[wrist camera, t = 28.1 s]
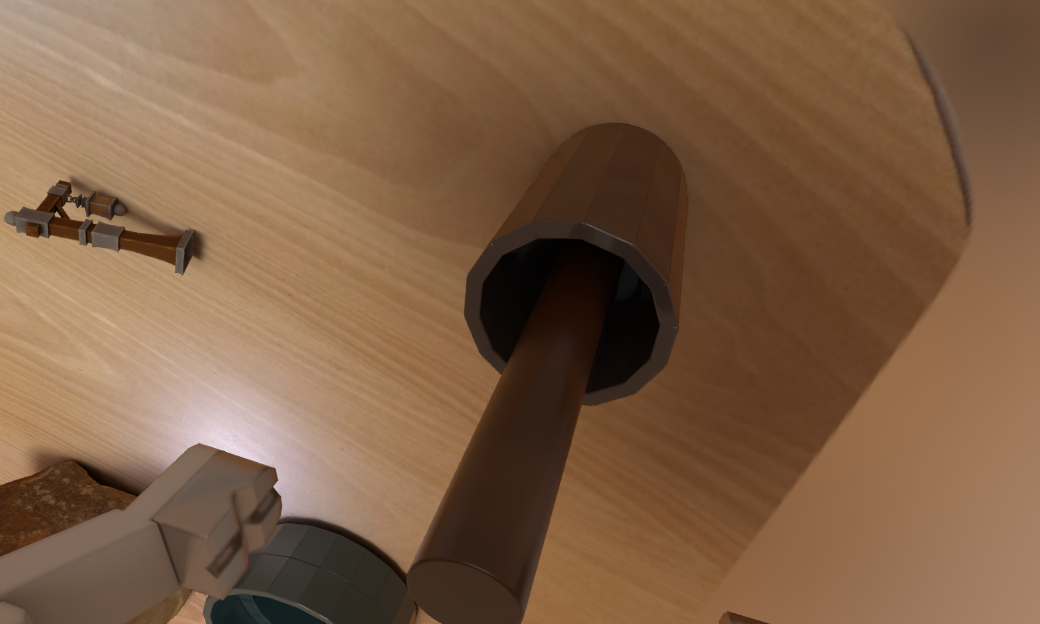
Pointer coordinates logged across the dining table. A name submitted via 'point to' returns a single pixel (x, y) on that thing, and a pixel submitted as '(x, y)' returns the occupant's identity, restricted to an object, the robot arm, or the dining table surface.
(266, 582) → the bowl
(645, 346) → the holder
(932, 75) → the dining table surface
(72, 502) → the orange rock
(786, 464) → the dining table surface
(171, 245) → the wooden lamp post
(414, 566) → the stick
